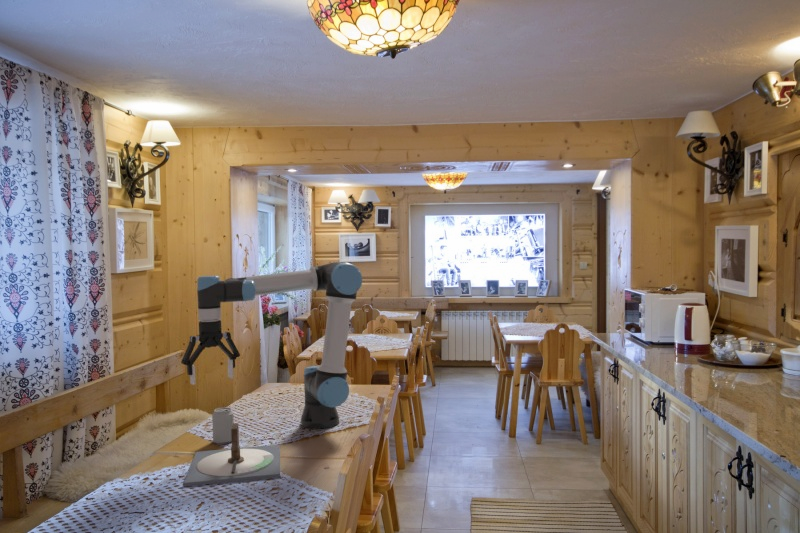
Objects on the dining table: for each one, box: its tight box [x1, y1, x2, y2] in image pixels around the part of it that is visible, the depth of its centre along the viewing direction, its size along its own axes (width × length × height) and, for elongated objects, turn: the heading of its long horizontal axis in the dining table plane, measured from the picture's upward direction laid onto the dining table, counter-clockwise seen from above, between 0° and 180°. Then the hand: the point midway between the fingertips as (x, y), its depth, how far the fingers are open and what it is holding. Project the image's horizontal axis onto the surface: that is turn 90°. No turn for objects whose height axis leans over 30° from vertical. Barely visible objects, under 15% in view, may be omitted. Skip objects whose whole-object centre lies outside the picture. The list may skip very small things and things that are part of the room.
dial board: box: [183, 444, 281, 488], centre depth 195 cm, size 28×28×2 cm
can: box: [211, 406, 235, 445], centre depth 220 cm, size 8×8×12 cm
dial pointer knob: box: [228, 422, 244, 474], centre depth 190 cm, size 5×16×11 cm, turn 12°
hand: (212, 381), depth 209 cm, fingers open, 13 cm apart
